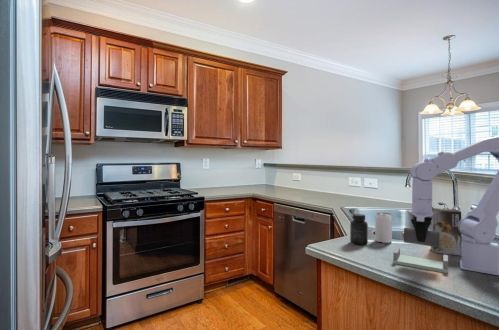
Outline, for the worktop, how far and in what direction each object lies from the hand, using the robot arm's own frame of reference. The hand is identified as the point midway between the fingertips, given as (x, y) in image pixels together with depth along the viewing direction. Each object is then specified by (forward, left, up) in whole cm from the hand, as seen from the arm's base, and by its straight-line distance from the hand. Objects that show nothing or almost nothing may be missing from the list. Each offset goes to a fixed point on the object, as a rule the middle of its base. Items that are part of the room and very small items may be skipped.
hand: (421, 239), depth 96 cm
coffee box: (-7, -21, -9) cm, 24 cm away
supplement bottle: (+23, -14, -9) cm, 29 cm away
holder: (0, 0, -8) cm, 8 cm away
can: (+15, -23, -9) cm, 29 cm away
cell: (0, 0, -2) cm, 2 cm away
